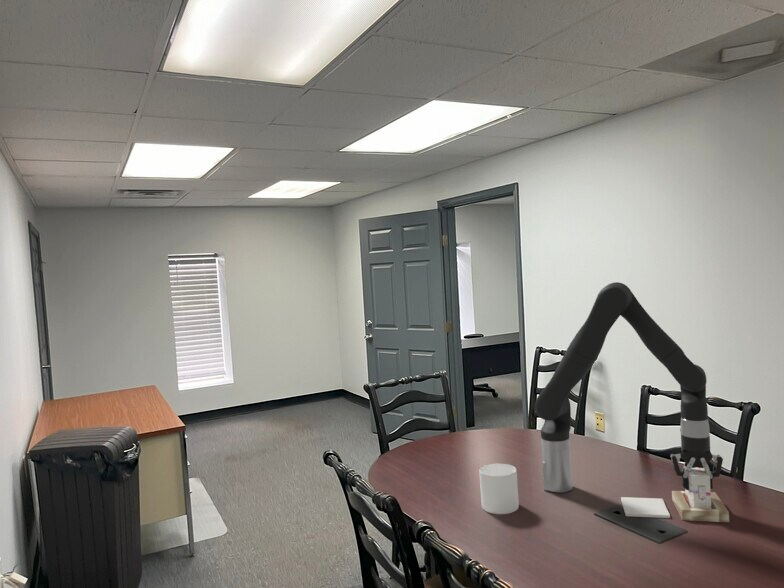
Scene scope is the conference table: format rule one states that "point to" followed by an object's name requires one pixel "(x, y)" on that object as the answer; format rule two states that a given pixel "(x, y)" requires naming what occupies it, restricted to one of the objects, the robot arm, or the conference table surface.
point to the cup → (499, 488)
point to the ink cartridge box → (699, 488)
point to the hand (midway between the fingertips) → (697, 489)
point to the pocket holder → (696, 514)
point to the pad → (645, 507)
